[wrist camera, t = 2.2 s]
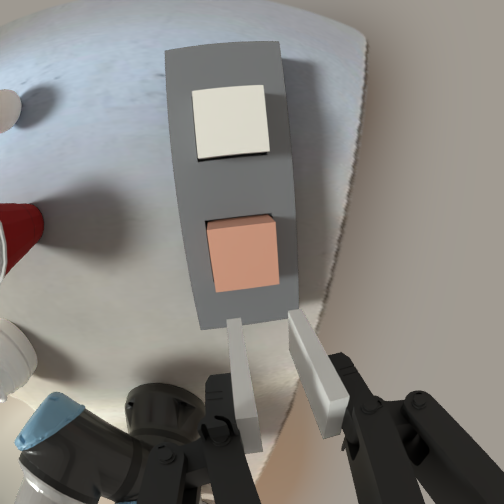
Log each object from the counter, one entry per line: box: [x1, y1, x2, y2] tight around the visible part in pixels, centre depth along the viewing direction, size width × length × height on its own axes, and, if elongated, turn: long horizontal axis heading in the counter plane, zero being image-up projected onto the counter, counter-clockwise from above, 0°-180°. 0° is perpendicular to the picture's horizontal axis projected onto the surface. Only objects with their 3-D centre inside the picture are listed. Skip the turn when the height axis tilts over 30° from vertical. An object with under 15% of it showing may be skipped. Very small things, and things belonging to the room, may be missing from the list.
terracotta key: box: [207, 214, 279, 292], centre depth 28 cm, size 6×6×4 cm
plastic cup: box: [0, 203, 44, 284], centre depth 24 cm, size 11×11×12 cm
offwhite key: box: [192, 85, 270, 159], centre depth 24 cm, size 6×6×4 cm
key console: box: [165, 41, 299, 330], centre depth 29 cm, size 32×12×5 cm, turn 5°
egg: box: [0, 89, 22, 133], centre depth 20 cm, size 6×6×8 cm
